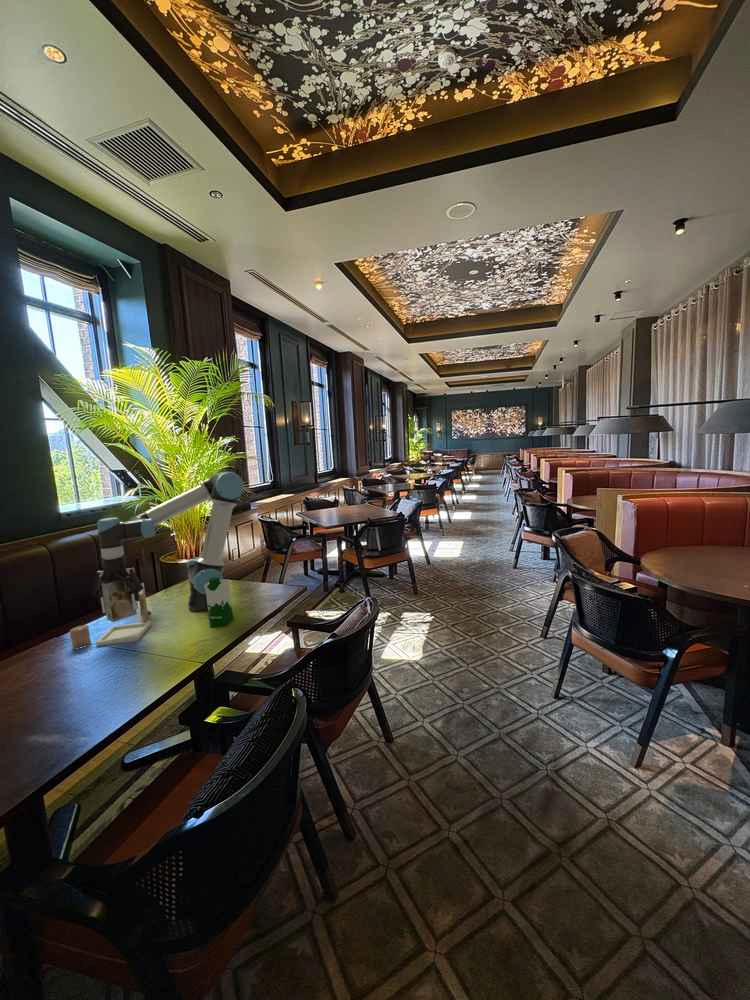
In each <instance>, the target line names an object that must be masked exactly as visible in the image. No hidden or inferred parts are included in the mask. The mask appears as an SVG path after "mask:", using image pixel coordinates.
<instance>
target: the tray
mask: <svg viewBox="0 0 750 1000" xmlns="http://www.w3.org/2000/svg"><path fill="white" fill-rule="evenodd" d="M151 626H152V621H151V620H150V622H142V623H140V622H136V623H129V624H128V623H126V624H119V625H112V626H111V627H110V628H109V629H108V630H107V631H106V632H105V633H104V634H103V635H102V636H101V637H99V638H98V640H96V641H95V647H96V646H97V647H103V646H104V645H105V646H108V645H109V646H110V645H118V644H125V643H133V642H139V641H140V639H142V637H143V636H144V635H145V633H147V631H148V630H149V629H150V628H151Z"/></svg>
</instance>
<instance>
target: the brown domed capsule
mask: <svg viewBox="0 0 750 1000" xmlns="http://www.w3.org/2000/svg"><path fill="white" fill-rule="evenodd" d="M69 635H70V640H71V641H70V643H71V647H73V648H80V647H84V646H87V645H89V644H90V645H91V644H92V641H91V634H90V628H89V625H88V624H87V625H86V624H85V625H79V626H75V627H73V628H71V629H70V630H69ZM90 645H89V646H90ZM87 647H88V646H87ZM73 648H72V649H73Z"/></svg>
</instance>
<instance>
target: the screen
mask: <svg viewBox="0 0 750 1000" xmlns="http://www.w3.org/2000/svg"><path fill="white" fill-rule="evenodd" d="M141 584H142V586H143V589H142V590H141V591H139V600H138V602H139V603H138V604H139V608H140V617H141V621H139V623H142V622H150V621H151V619H148V618H149V617H148V616H149V615H150V614H151V612H152V611H151V609H148V605H147V597H146V591H145V590H146V589H145V583H144V582H141Z"/></svg>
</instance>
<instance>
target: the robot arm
mask: <svg viewBox="0 0 750 1000" xmlns="http://www.w3.org/2000/svg"><path fill="white" fill-rule="evenodd" d="M244 487H245V486H244V481H243V479H242V478H241V476H240V475H239V474H237V473H235V472H233V471H228V470H225V471H223V470H222V471H218V472H216V473H214V474H212V476H209V477H208V478H206V479H205V480H202V481H200V482H199V485H197V486H195V487H192V488H191V489H189V490H187V491H185V492H182V493H181V494H178V495H177V496H175V497H173V498H171V499H168V500H166V501H165V502H161V503H160V504H158V505H156V506H154V507H152V508H150V509H147V510H146V511H144V512H142V513H139V514H138V515H134V516H131V517H130V518H129V519H128V520H127V521H121V520H120V518H119V517H107V518H105V517H104V518H100V519H98V521H97V534H98V535H97V536H98V540H99V547H100V554H101V558H102V560H101V561H102V568H103V570H97V571H96V572H95V573H94V574H95V575H94V576H95V581H94V585H93V589H92V590H93V591H92V597H97V598H98V604H99V605H100V606H101V608H102V614H106V611H105V605H104V598H103V590H102V587H101V581H102V580H103V576H105V577H106V578H105V579H104V580H105V581H109V580H116V579H120V580H123V581H125V584H126V585H127V586H128V587H129V588H130V589H131V591H132V592H133V593H132V601H133V608H134V610H136V611H137V609H138V608H139V603H138V602H139V591H141V590H142V589H143V586H142V584H141V583H142V582H141V580H140V578H139V576H138V575H137V573H136V568H135V567H134V566H132V567H131V568H128V567H127V566H126V559H125V556H124V554H125V551H124V546H123V545H124V544H123V541H129V540H131V541H132V540H139V539H147V538H151V537H154V536H155V534H156V529H155V527H156V526H159V525H160V524H162V523H164V522H166V521H168V520H170V519H172V518H174V517H176V516H178V515H180V514H182V513H184V512H186V511H188V510H190V509H192V508H194V507H196V506H198V505H201V504H203V503H204V502H206V501H208V500H209V501H211V502H212V507H211V510H210V515H209V519H208V525H207V529H206V534H205V538H204V542H203V547H202V551H201V555H200V557H197V558H192V559H190V560H189V559H188V560H187V562H186V568H187V574H188V581H189V582H188V583H189V590H190V593H189V598H188V602H187V606H188V607H187V608H188V610H189V611H191V612H204V611H208V605H207V597H206V592H205V588H204V586H205V585H206V584H207V583H209V580H210V579H212V578H219V579H220V580H224V577H223V571H224V566H225V563H224V561H223V560H222V558H223V553H224V549H225V545H226V541H227V537H228V531H229V527H230V523H231V519H232V515H233V509H234V507H235V506H237V505H238V503H239V498H240V496H241V495H242V493H243V492H244V489H245V488H244ZM126 573H128V575H127V574H126ZM128 576H129V577H131V580H132V583H131V582H129V581H128V580H126V579H125V578H127V577H128ZM124 577H125V578H124Z"/></svg>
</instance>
